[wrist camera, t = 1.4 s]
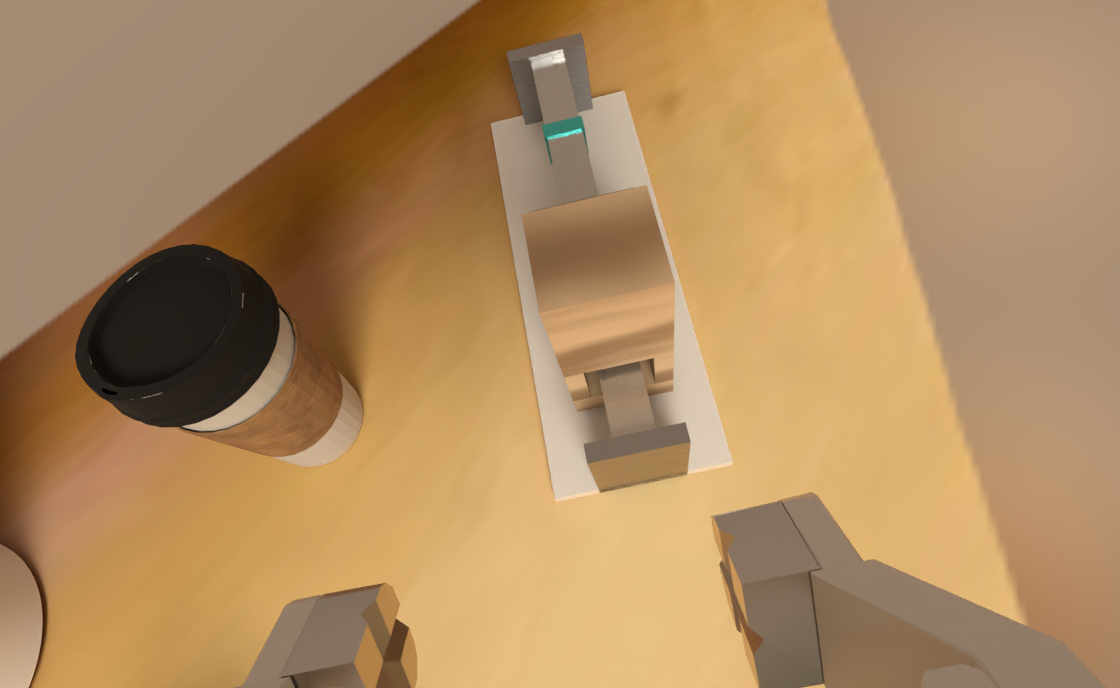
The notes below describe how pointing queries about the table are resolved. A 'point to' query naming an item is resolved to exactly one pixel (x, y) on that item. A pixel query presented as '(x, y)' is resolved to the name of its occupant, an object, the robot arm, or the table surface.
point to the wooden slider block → (604, 290)
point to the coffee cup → (216, 359)
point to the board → (563, 427)
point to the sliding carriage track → (556, 98)
